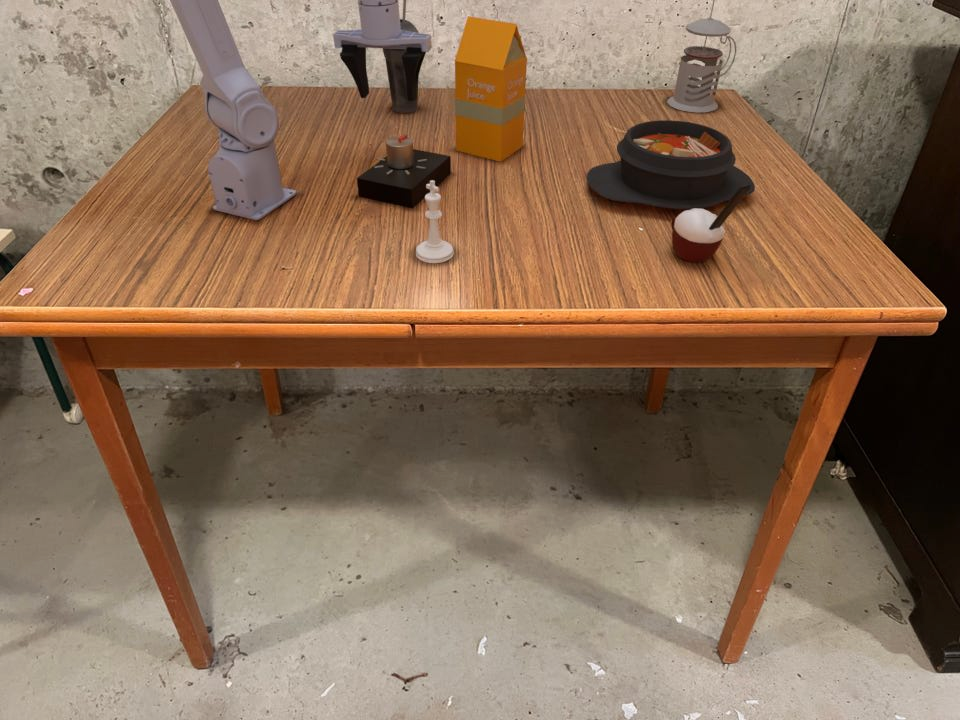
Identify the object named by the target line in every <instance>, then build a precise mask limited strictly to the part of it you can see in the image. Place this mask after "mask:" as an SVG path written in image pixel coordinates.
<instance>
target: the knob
mask: <svg viewBox="0 0 960 720" xmlns="http://www.w3.org/2000/svg"><path fill="white" fill-rule="evenodd" d="M413 149H414V140H413V139H412V138H411V137H409V136H408V134H402V135H399V136H398V135H397V136H392V137H389V138H387V139H386V140H385V151H386V156H387V164H388V166H389V167H391V168H394V169H406V168H410V167H412V166H413V165H414V151H413Z"/></svg>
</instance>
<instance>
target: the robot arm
mask: <svg viewBox="0 0 960 720" xmlns="http://www.w3.org/2000/svg"><path fill="white" fill-rule="evenodd" d="M169 1H170V4H171V6H172V9H173V10H174V13H175V15H176V17H177V19H178V21H179V24H180V26H181V28H182V30H183V32H184V35H185V37H186V39H187V41H188V44H189V46H190V49H191V51H192V53H193V55H194V57H195V59H196V62H197V64H198V66H199V69H200V70H201V73H202V77H201V79H200V82H199V84H200V87H201V90H202V92H203V95H204V111H205V114H206V117H207V119H208V120H209V122H210V123H211V124H212V125H213V126H215V127H216V128H217V129H218V142H219V147H218V150H217V152H216V153H215V155H214V156H212V157H211V158H210V159H209V161H208V164H207V172H208V177H209V181H210V184H211V188H212V192H213V196H214V200H215V204H214V205H213V206H212V209H213V211H217V212H220V213H224V214H229V215H232V216H237V217H241V218H246V219H248V220H249V219H250V220H254V221H259V220H261V219H262V218H264V217H266V216H267V215H269V214H270V213H272V212H273V211H274V210H275V209H277V208H279V207H281V206H282V205H283V204H285V203H286V202H287V201H289V200H290V199H292V198H294V196H296V195H297V194H298V192H297V190H295V189H290V188H286V187H284V186H283V181H282V175H281V170H280V165H279V164H280V163H279V159H278V154H277V153H278V152H277V148H276V142H275V138H276V136H277V135H278V132H279V129H280V118H279V114H278V112H277V110H276V108H275V107H274V105H273V104H272V103H271V102H269V101H268V100H267V99H266V97H265V95H264V94H263V92H262V89H261V87H260V85H259V84H258V83H257V82H258V81H256V80H255V78H254V77H253V76H252V75H251V73H250V72H249V71H248V69H247V68H246V66H245V64H244V61H243V59H242V56H241V54H240V52H239V49H238V47H237V44H236V42H235V39H234V37H233V34H232V32H231V29H230V25H228V21H227V19H226V17H225V14H224V12H223V9H222V7H221V4H220V2H219V0H169ZM357 5H358V12H359V21H360V22H359V23H360V29H347V30H341V29H340V30H336V31H335V32H334V33H332V37H333V45H334V48H335V49H341V51H340V52H339V57H340V60H341V61H342V62H343V64H344V66H346V68H347V70H348V71H349V73H350V75H351V77H352V79H353V80H354V81H353V82H354V83H355V86H356V88H357V91H358V93H359V96H360V98H361V99H366V98H367V96H369V94H370V86H369V84H370V83H369V78H368V70H367V49H383V48H386V49H407V52H405V53H404V54H403V55H402V61H403V65H404V70H405V75H406V84H407V98H408V101H413V100H414V98H415V97H416V88H417V81H418V82H419V80H418V76H419V77H420V71H421V68H422V65H423V62H424V59H425V56H426V54H427V53H429V52H430V51H431V50H432V48H433V43H432V34H431V33H422V32H419V33H415V32H409V31H403V30H401V26H400V19H401V17H400V5H399V0H357Z"/></svg>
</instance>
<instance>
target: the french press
mask: <svg viewBox="0 0 960 720" xmlns="http://www.w3.org/2000/svg"><path fill="white" fill-rule="evenodd" d="M715 1H716V0H713V1H712V5H711V10H710V15H709V17H707V18H699V19H696V20H693V21H691V22H690V23H688V24H686V25H685V30H686V31H687V32H688V33H689V34H693V35H694V36H700V37H705V40H704V45H701V46H700V45H693V46H687V47H686V48H684V49H683V54H684V55H682V56H680V61H679V66H678V71H677V76H676V82H675V87H674V92H673V95H672V96H670V97H669V98H668V99H667V101H666V102H667V104H668V105H669V106H670V107H672V108H674V109H676V110H678V111H679V110H680V111H683V112H688V113H689V112H690V113H709V112H714V111H716V110H718V108H719V104H718V102H717V101H716V100H715V98H716V93H717V89H718V84H719V79H720V78H721V77H723V76H724V75H726V74H727V73H728V72H729V70H731V68H732V66H733V64H734V62H735V58H736V55H737V44H736V41H735V39H734V37H731V35H730V33H731V30H732V29H731V28H730V27H729V26H728V25H727V24H726V23H724V22H723V21H721V20H718V19H715V18H713V17H712V14H713V10H714V6H715ZM708 37H711V38H713V37H714V38H717V37H719V42H720V43H721V44H723V45H726V43H727V40H728V42H729V52H728V56H727V59H726V61H725V63H724V65H723V60H722V59H720V58H722V57H723V55H724V52H723V51H722V50H721V49H720V48H715V47H711V46H706V44H707V39H708ZM723 37H726V38H725V39H724V41H722V40H723ZM732 43H733V45H734V54H733V58H732V61H731V63H730V65H729V66H728V68H727V70H725V71H724V72H722V70H723V69H724V68H725V67H726V65H727V64H728V62H729V60H730V57H731V53H732ZM718 60H719V63H718ZM692 61H699V62H700V63H701V62H702V63H703V64H704V65H701V64H699V63H695V62H693V63H688V62H692ZM721 72H722V73H721ZM699 78H701V79H699ZM712 87H713V88H712ZM711 93H712V94H711Z"/></svg>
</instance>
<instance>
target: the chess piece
mask: <svg viewBox="0 0 960 720" xmlns="http://www.w3.org/2000/svg"><path fill="white" fill-rule="evenodd" d="M426 188H427V189H430V193H428V194H426V195H425V198H424V200H425V203H426V205H427V208H428V210H426V211H425V213H424V217H425V218H427V219H429V225H428V234H427V235H428V236H427V239H426V240H424V241H421V242H420V243H419V244H418V245H416V250H415V256H416V258H417V259H418V260H419V261H420V262H423V263H428V264H441V263H445V262H447V261H450V260H451V259H452V258H453V257H454V254H455V251H454V247H453V245H452V244H451V243H450V242H448V241H446V240H443V239H442V238H441V233H440V228H439V218H440V219H441V217H442V216H443V213H442V211H441V210H440V209H439V207H440V202H441V200H442V195H441V194H440V193H438V192H439V191H440V187H438V186H437V187H436V186H435V181H433V180H431V181H430V184H427V185H426Z"/></svg>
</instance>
